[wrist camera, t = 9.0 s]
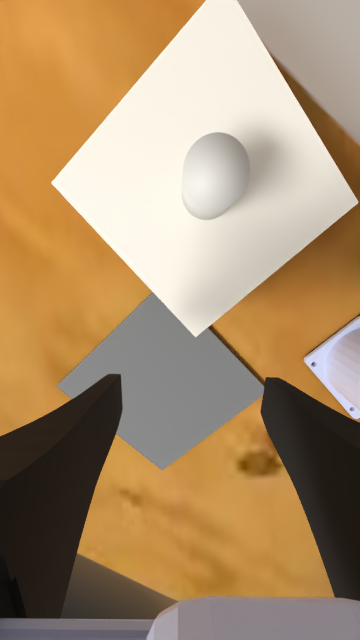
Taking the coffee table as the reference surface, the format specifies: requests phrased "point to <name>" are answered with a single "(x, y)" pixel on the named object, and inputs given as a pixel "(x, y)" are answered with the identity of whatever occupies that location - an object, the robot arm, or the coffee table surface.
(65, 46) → the coffee table surface
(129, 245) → the lid
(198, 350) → the mat
